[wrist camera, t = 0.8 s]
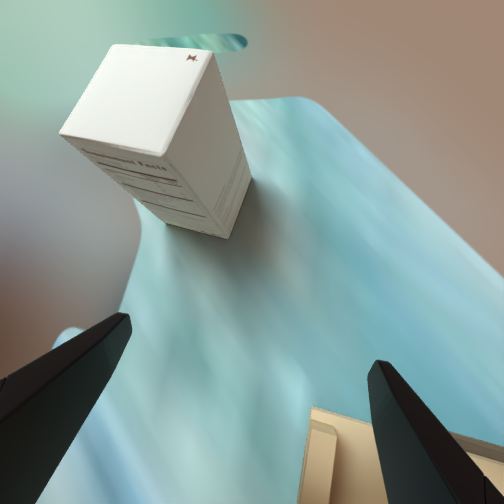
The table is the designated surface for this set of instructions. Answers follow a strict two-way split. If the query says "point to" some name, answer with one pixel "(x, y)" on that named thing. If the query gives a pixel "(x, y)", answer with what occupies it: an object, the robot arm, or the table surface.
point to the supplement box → (165, 135)
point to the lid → (353, 463)
